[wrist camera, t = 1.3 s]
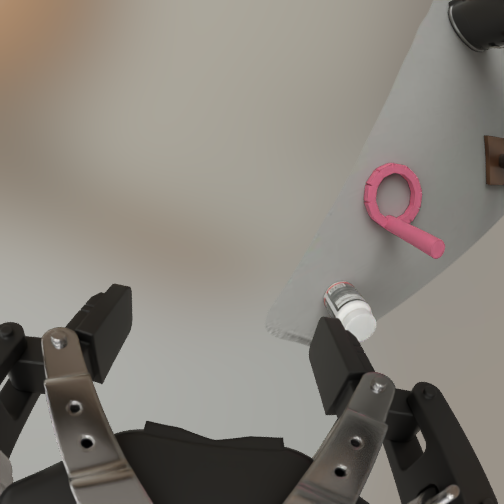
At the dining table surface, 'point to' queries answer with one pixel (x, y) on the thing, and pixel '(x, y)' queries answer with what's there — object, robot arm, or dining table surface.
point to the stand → (494, 160)
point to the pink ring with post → (402, 223)
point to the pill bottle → (350, 309)
